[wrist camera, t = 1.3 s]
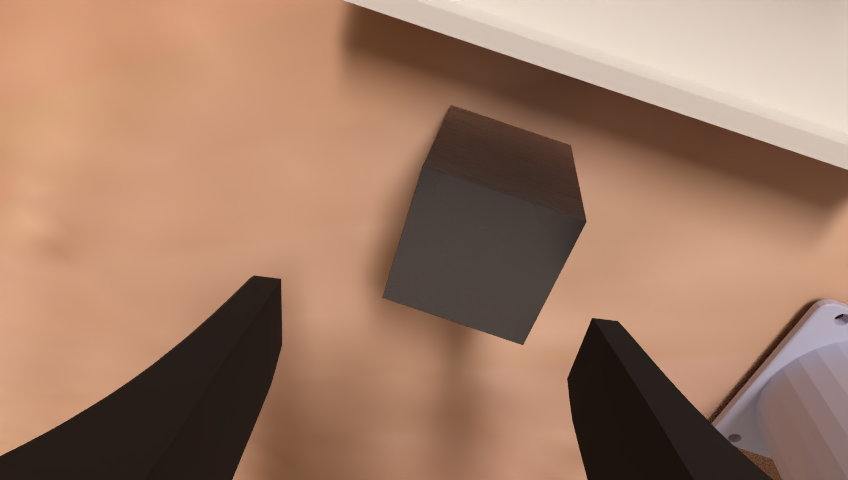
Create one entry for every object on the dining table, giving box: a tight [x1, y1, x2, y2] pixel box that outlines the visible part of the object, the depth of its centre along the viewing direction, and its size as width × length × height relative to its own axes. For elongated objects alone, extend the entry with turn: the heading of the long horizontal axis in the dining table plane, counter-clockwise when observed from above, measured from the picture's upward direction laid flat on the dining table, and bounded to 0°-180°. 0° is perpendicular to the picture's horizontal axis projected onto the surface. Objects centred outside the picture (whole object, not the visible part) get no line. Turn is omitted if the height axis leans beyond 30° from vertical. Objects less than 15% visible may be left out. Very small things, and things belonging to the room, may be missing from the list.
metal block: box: [382, 105, 587, 345], centre depth 18 cm, size 4×4×6 cm
